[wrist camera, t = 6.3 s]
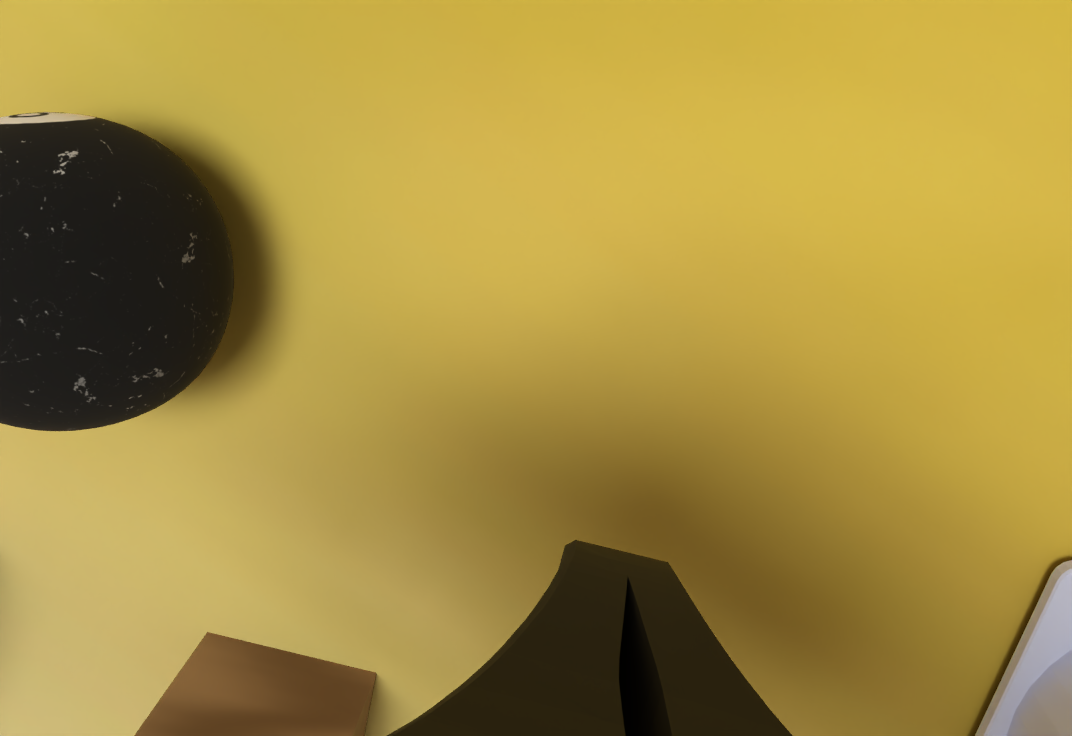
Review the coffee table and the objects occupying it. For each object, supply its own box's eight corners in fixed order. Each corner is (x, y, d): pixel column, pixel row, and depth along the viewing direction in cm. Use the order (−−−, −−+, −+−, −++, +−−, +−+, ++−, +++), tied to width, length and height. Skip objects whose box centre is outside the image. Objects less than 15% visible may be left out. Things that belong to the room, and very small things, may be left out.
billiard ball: (42, 369, 22) (-158, 480, 16) (-13, 107, 20) (-261, 129, 14) (288, 370, 21) (171, 484, 16) (257, 100, 20) (110, 121, 14)
